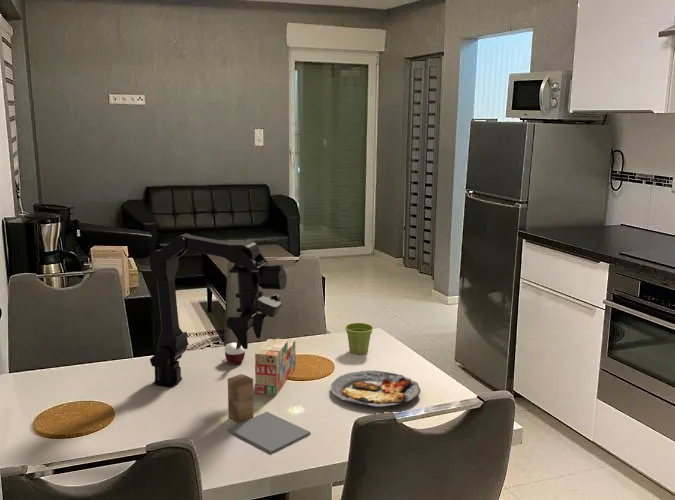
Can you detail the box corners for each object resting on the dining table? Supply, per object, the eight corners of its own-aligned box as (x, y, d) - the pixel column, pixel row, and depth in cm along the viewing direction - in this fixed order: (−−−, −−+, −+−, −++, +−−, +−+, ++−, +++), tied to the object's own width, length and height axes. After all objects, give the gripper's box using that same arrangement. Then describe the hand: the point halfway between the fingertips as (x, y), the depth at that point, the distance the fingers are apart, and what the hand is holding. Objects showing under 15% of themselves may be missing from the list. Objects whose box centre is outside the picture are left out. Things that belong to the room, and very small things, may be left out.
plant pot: (363, 359, 207) (364, 333, 206) (339, 352, 212) (339, 328, 211) (377, 350, 215) (378, 326, 213) (353, 345, 220) (354, 321, 218)
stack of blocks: (276, 366, 200) (276, 328, 198) (295, 368, 199) (296, 330, 196) (255, 394, 180) (254, 352, 177) (276, 396, 178) (276, 354, 176)
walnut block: (228, 418, 164) (227, 378, 162) (241, 413, 168) (241, 373, 165) (239, 424, 161) (239, 383, 159) (253, 418, 165) (252, 378, 162)
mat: (227, 430, 158) (227, 428, 158) (266, 413, 167) (266, 411, 167) (271, 453, 148) (271, 451, 147) (310, 434, 157) (310, 431, 157)
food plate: (430, 386, 187) (430, 374, 186) (403, 419, 166) (404, 406, 166) (351, 372, 197) (351, 362, 197) (318, 402, 177) (318, 390, 176)
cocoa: (224, 359, 206) (222, 323, 204) (243, 357, 207) (241, 321, 205) (227, 369, 197) (225, 331, 195) (247, 366, 198) (245, 329, 196)
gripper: (263, 298, 162) (266, 356, 165) (288, 281, 180) (291, 334, 183) (223, 296, 165) (227, 354, 168) (251, 280, 183) (255, 332, 186)
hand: (252, 343), depth 176 cm, fingers open, 9 cm apart
